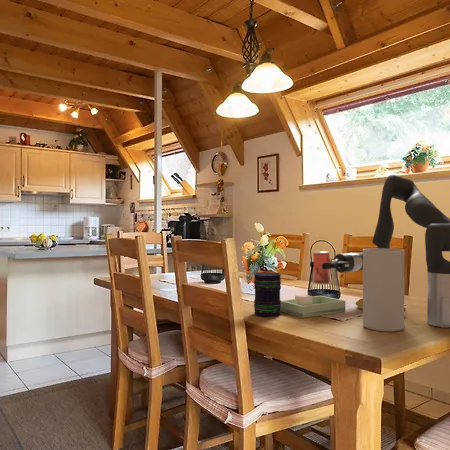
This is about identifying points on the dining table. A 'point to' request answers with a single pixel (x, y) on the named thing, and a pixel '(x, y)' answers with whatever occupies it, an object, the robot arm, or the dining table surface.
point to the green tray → (313, 307)
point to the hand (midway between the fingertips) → (316, 265)
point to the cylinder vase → (383, 289)
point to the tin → (321, 274)
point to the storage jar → (267, 294)
